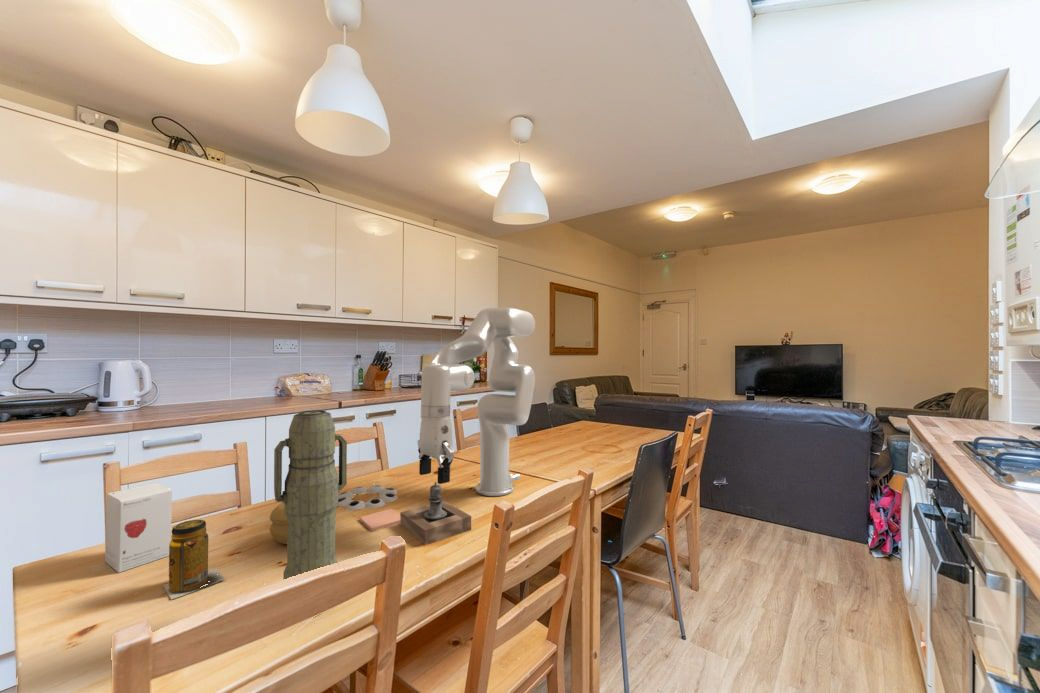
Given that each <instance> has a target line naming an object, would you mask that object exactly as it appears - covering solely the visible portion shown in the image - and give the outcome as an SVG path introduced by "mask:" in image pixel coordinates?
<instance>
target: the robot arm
mask: <svg viewBox="0 0 1040 693" xmlns="http://www.w3.org/2000/svg"><path fill="white" fill-rule="evenodd" d="M535 330H536V320H535V318H534V316H533V315H532V313H531V312H529V311H527V310H522V309H518V308H515V307H510V306H509V307H508V306H507V307H488V308H484V309H481V310H480V311H479V312H478V313H477V314H476V316H475V318H474V319H473V320H472V322H471V323H470V325H469V326H468V327H467V329H466V330H465V332H464V334H463V335H462V336H460V337H458V338H457V339H454V340H453V341H452V342H449V343H448V344H446V345H445V346H444V347H442V348H441V349H439V350H438V351H437V352H436V353H435V354H434V356H433V357H432V358H431V360H430V361H429V363H428V364H427V365H424V366H423V367H422V369H421V386H420V387H421V390H420V392H421V393H420V394H421V395H420V396H421V398H420V419H421V421H420V429H419V438H418V440H417V447H418V450H417V451H418V453H419V454H418V459H419V465H418V466H419V468H418V469H419V470H418V471H419V472H418V473H419V475H420V476H424V475H429V474H431V473H432V459H433V458H434V459H436V460H437V463H438V467H437V485H442V484H446V483H450V480H451V466H452V462H453V461H454V460H453V458H454V456H455V451H454V448H453V447H454V445H453V444H454V441H453V438H454V437H453V426H452V421H451V392H464V391H465V392H466V391H467V390H469V389H470V388H471V387H472V386H473V385H474V382H475V380H476V378H475V377H476V376H475V375H476V374H475V372H474V370H473V369H472V368H471V367H470V366H468V365H467V364H465V363H464V364H463V362H467V361H469V360H472V359H473V360H474V359H475V358H478V357H481V356H483V355H484V354H486V352H487V351H488V349H489V348H490V346H491V344H493V348H494V349H493V350H494V351H493V358H492V361H491V362H492V363H491V366H490V371H489V376H488V387H489V388H490V390H492V391H494V392H500V393H502V394H500V393H499V394H497V393H496V394H495V393H489V394H485V395H483V396H481V397H480V398H479V400H478V403H477V408H476V409H477V411H476V412H477V416H478V422H479V432H480V438H479V439H480V444H479V445H480V446H479V447H480V449H479V450H480V451H479V452H480V454H479V455H480V456H479V458H480V461H479V462H480V463H479V464H480V466H479V470H480V471H479V472H480V473H479V476H480V479H479V483H477V484H476V485H475V488H474V489H475V492H476V493H477V494H479V495H481V496H487V497H500V496H506V495H509V494H510V493H512V492H513V491H514V485H513V482H514V481H518V480H520V479H521V474H519V473H515V474H512V473H510V435H509V432H508V429H507V428H506V425H509V426H510V425H511V426H523V425H525V424H526V423H527V422H528V420H529V416H530V413H531V408H532V403H533V396H534V390H535V386H536V375H535V372H534V369H533V368H532V367H531V366H530V365H527V364H523V363H522V364H520V363H519V364H518V360H519V350H518V348H517V346H516V345H515V343H514V342H513V340H512V338H528V337H530V336H532V334H534V331H535ZM461 363H462V364H461ZM503 393H515V394H514V395H511V394H503Z"/></svg>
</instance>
